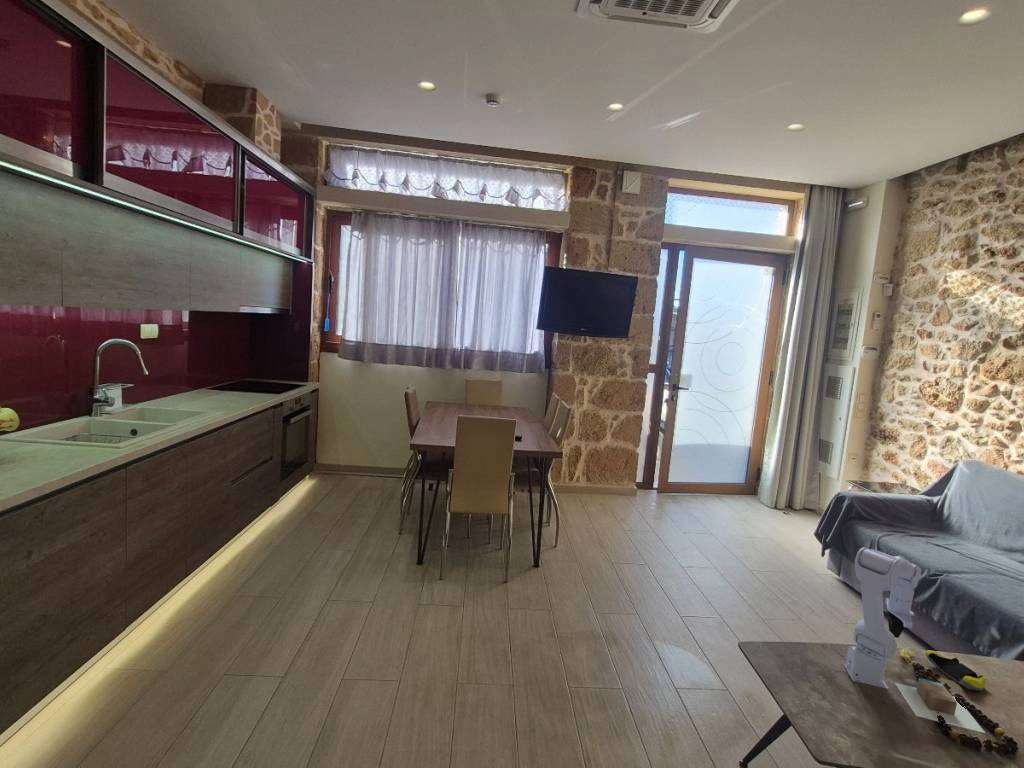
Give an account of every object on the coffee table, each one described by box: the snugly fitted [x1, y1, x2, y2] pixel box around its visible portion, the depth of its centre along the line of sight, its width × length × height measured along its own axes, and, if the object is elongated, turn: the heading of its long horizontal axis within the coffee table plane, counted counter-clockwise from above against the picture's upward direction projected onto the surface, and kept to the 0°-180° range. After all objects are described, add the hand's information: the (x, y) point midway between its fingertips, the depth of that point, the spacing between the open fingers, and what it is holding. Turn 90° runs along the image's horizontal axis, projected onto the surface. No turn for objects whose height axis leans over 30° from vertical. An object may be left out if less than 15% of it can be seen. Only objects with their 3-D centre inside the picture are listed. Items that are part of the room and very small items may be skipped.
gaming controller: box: [925, 649, 987, 691], centre depth 159 cm, size 15×6×10 cm
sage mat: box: [894, 682, 986, 734], centre depth 146 cm, size 16×14×1 cm
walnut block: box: [915, 678, 957, 715], centre depth 147 cm, size 6×4×8 cm
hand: (893, 636), depth 164 cm, fingers closed
